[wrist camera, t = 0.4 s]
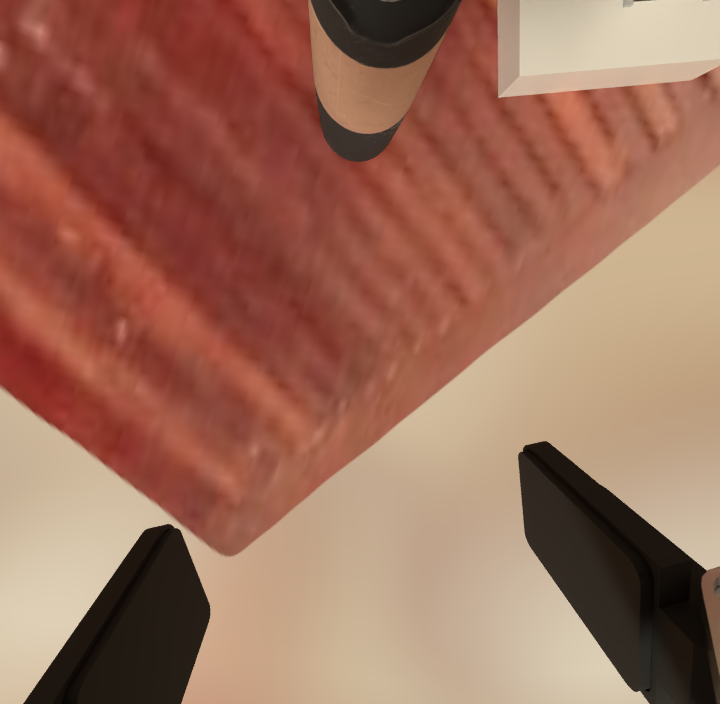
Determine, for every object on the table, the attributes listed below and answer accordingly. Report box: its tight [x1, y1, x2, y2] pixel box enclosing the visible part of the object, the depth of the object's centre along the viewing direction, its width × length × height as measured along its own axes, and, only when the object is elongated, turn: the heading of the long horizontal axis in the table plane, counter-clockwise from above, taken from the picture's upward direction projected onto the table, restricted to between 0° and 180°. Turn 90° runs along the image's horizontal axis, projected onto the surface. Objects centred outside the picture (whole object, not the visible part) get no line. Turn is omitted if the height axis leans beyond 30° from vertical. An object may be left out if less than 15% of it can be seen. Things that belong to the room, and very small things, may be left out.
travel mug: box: [308, 0, 462, 162], centre depth 24 cm, size 8×8×20 cm
